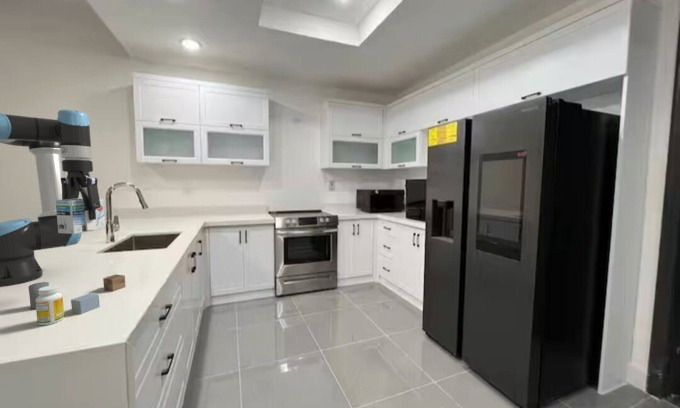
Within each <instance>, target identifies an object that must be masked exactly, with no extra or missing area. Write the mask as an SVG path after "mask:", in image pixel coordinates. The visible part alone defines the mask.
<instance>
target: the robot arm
mask: <svg viewBox="0 0 680 408" xmlns="http://www.w3.org/2000/svg"><path fill="white" fill-rule="evenodd" d="M90 126H91V122H90V118H89V114H87V112H85V111H82V110H81V111H80V110H75V109H60V110H58V111H57V119H53V118H52V119H51V118H43V117H31V116H25V115H16V114H15V115H14V114H6V113H5V114H4V113H0V144H4V145H8V146H14V147H15V146H16V147H27V148H28V151H29V153H31V154H32V155H34V157H35V164H36V165H35V166H36V172H37V179H38V180H37V181H38V188H39V190H38V191H39V195H40V197H39V198H40V205H41V211H42V212H41V213H40V214H39V215H38V216H37V221H32V220H31V218H20V219H19V218H18V219H12V220H6V221H1V222H0V287H5V286H12V285H17V284H23V283H26V282H31V281H34V280H37V279H39V278H41V277H43V275H44V273H43V268H41V265H40V264H39V262H38V261H37V259H36V257H35V251H40V250H48V249H55V248H64V247H69V246H73V245H77V244H79V242H80V241H81V238H82V233H83V232H82V233H76V234H68V233H58V222H57V210H56V200H64V199H77V198H80V197H79V195H80V194H81V195H80V196H81V198H83V201H84V204H85V207H86V209H84V213H85V225H86V230H87V231H88V230H94V229H96V212H95V210H96V209H97V208H100V207H101V206H100V199H99V198H100V194H99V189H98V180H99V179H98V177H91V175H90V173H92V172H93V171H94V165H93V161H92V159H93V154H92V153H93V152H92V150H93V149H92V145H91V144H92V143H91V130H90ZM66 173H67V175H66ZM94 231H95V230H94ZM88 232H89V231H88Z"/></svg>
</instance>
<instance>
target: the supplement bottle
mask: <svg viewBox="0 0 680 408" xmlns="http://www.w3.org/2000/svg"><path fill="white" fill-rule="evenodd" d="M59 291H60V287H59V285H56V284H54V285H49V286H46V287H42V288H40V289H39V290H38V294H39V295H40V296H39V297H37V298H36V311H35V312H36V319H37V320H36V323H37V324H38V326H41V325H44V326H49V325H54V324H57V323H58V322H61V321H62V320H64V319H65V308H64V297H63V294H62V292H59Z"/></svg>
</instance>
